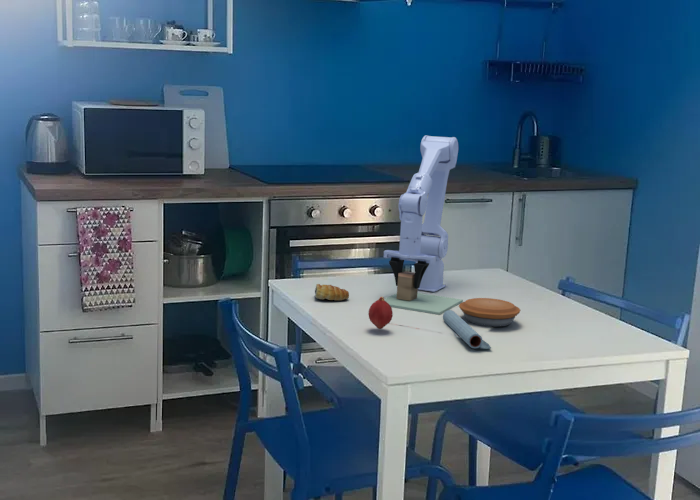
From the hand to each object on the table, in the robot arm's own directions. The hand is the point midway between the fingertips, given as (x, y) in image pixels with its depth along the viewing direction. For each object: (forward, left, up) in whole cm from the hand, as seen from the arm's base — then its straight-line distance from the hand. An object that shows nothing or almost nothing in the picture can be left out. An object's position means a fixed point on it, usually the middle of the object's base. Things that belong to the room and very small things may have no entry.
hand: (407, 286), depth 242 cm
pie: (+7, +25, -4) cm, 27 cm away
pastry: (+13, -14, -5) cm, 20 cm away
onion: (+31, +6, -4) cm, 32 cm away
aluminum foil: (+22, +25, -5) cm, 34 cm away
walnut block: (0, 0, -3) cm, 3 cm away
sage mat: (0, +4, -4) cm, 6 cm away
